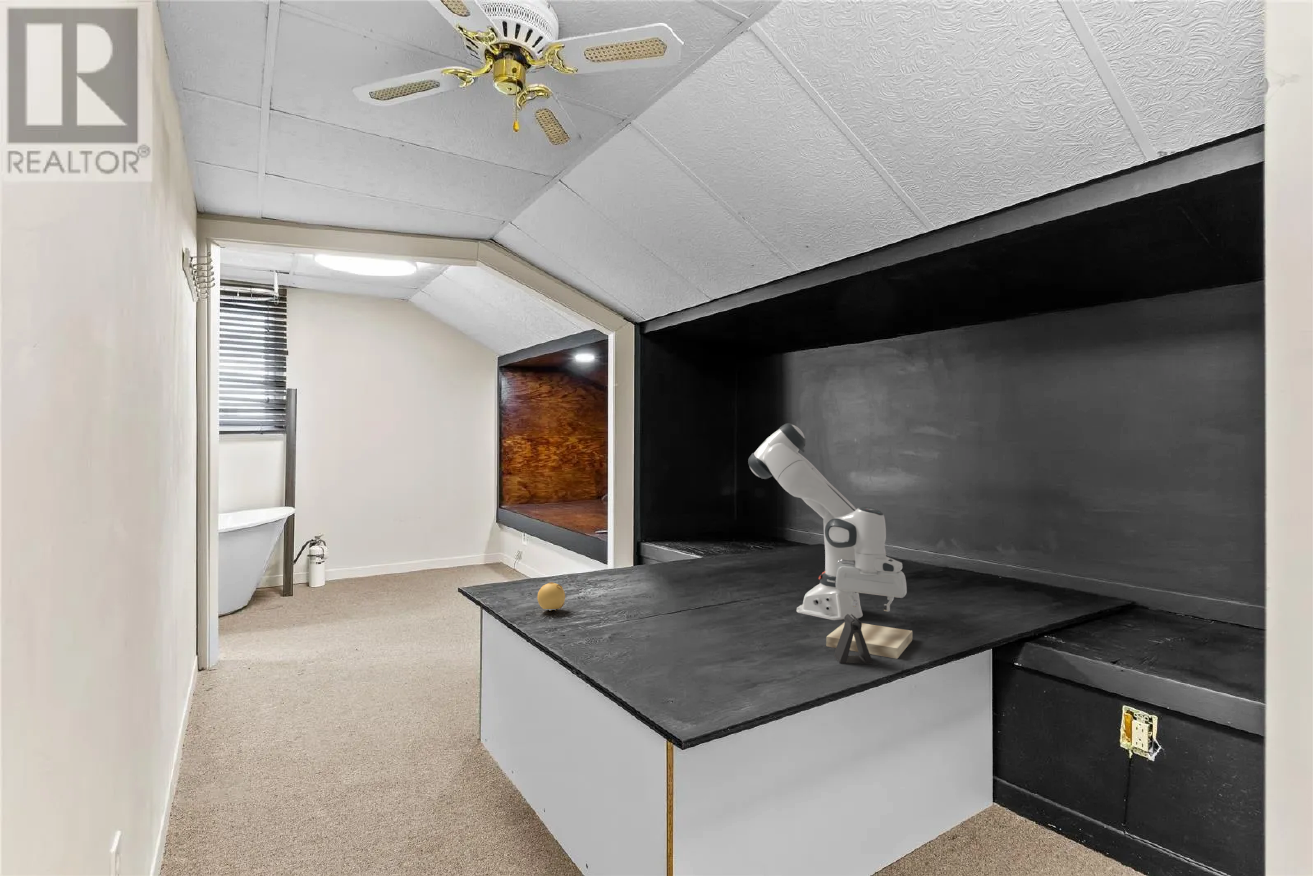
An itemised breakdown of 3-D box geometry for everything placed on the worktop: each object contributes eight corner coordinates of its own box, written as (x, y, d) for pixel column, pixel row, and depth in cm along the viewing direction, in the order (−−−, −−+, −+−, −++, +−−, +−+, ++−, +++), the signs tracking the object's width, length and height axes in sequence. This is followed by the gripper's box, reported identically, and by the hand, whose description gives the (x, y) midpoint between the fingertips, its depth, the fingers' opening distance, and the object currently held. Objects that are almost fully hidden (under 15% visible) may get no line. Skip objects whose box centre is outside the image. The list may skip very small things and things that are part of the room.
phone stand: (865, 656, 181) (865, 614, 181) (872, 664, 175) (872, 619, 175) (833, 656, 181) (833, 613, 181) (839, 664, 175) (839, 619, 175)
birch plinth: (826, 646, 190) (826, 636, 190) (846, 630, 207) (846, 620, 207) (897, 659, 179) (897, 648, 179) (912, 640, 196) (912, 630, 196)
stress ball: (562, 614, 225) (562, 585, 225) (534, 614, 225) (534, 585, 225) (567, 607, 235) (567, 579, 235) (540, 607, 235) (540, 579, 235)
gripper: (832, 560, 196) (832, 606, 196) (903, 567, 185) (903, 615, 185) (838, 557, 201) (838, 601, 201) (908, 564, 190) (907, 611, 190)
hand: (870, 608), depth 193 cm, fingers open, 8 cm apart
